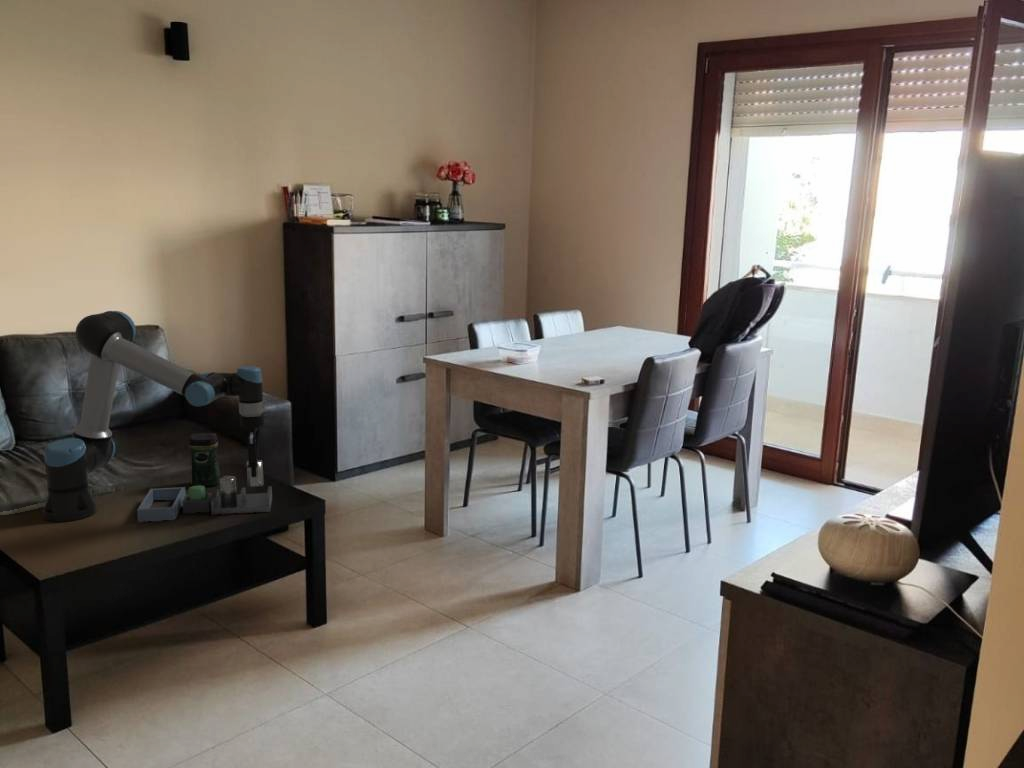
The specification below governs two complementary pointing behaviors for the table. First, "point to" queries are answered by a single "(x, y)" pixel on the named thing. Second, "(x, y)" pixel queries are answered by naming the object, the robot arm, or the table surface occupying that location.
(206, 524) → the table surface
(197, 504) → the button housing
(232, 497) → the seated billet
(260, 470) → the billet
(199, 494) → the button
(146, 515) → the tote
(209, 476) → the coffee jar
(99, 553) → the table surface
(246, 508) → the pallet
